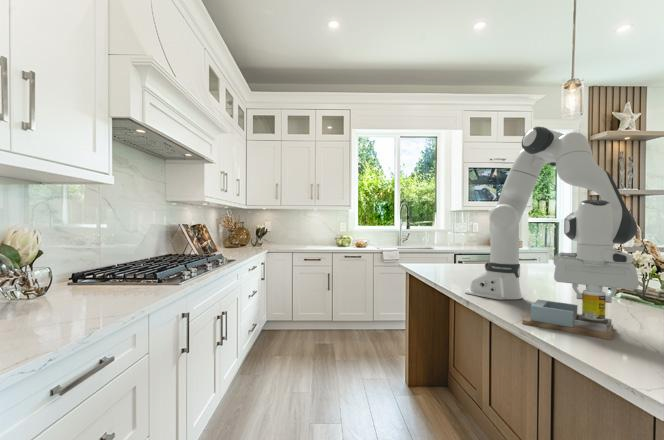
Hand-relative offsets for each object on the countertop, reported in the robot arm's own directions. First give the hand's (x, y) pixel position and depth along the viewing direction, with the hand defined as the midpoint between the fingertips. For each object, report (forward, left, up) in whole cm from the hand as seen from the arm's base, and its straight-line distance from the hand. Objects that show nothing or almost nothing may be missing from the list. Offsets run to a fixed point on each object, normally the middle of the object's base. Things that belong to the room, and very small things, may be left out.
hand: (593, 300), depth 107 cm
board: (-7, 0, -9) cm, 11 cm away
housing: (-10, 0, -7) cm, 12 cm away
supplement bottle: (0, 0, -6) cm, 6 cm away
